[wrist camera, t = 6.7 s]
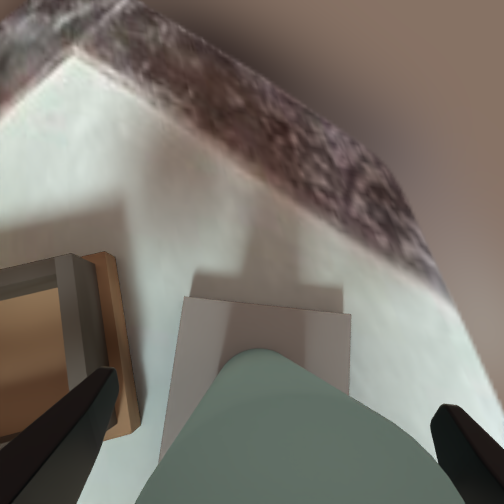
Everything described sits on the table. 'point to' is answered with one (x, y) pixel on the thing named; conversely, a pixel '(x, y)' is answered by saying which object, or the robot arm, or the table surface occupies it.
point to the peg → (291, 445)
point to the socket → (61, 338)
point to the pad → (249, 337)
